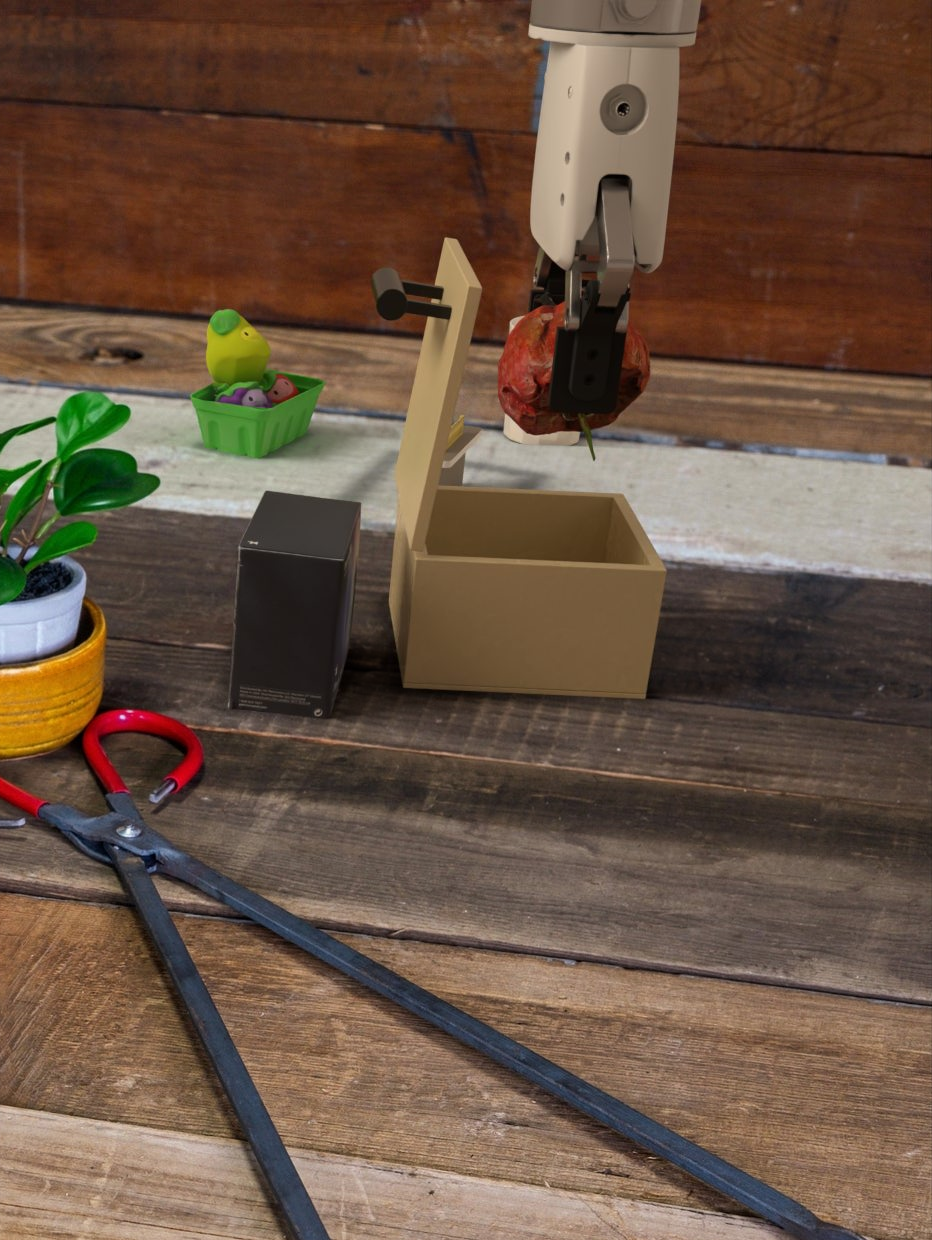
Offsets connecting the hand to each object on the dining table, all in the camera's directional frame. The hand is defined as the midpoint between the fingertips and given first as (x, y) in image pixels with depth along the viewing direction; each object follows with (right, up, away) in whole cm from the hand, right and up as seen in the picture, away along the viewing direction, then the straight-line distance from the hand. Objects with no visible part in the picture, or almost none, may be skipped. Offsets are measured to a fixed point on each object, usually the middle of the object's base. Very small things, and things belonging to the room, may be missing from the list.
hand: (566, 386), depth 84 cm
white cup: (+12, +8, +66) cm, 68 cm away
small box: (-13, -15, +18) cm, 27 cm away
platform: (0, 0, +49) cm, 49 cm away
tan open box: (+1, -13, +23) cm, 26 cm away
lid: (-4, +3, +16) cm, 16 cm away
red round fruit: (0, -3, +1) cm, 3 cm away
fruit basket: (-14, +7, +61) cm, 63 cm away
